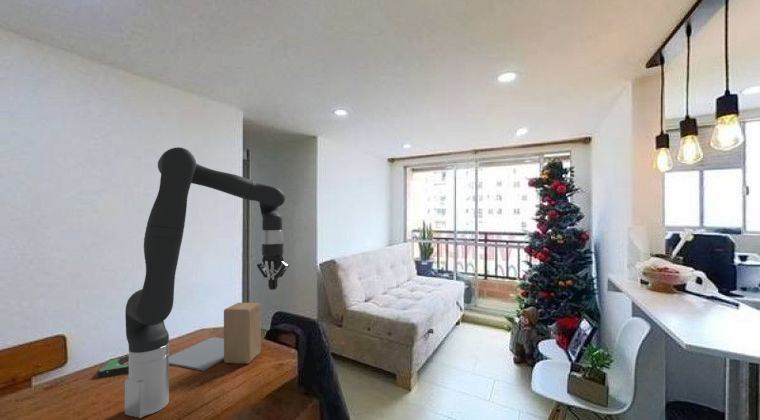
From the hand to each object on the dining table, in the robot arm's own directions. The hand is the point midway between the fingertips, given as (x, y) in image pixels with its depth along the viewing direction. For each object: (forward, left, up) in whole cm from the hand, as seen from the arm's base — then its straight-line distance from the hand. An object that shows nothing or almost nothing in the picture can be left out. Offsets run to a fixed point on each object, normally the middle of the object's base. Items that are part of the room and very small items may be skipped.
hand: (273, 289), depth 115 cm
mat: (0, +31, -27) cm, 41 cm away
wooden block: (0, +14, -27) cm, 31 cm away
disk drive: (-18, +49, -28) cm, 59 cm away
